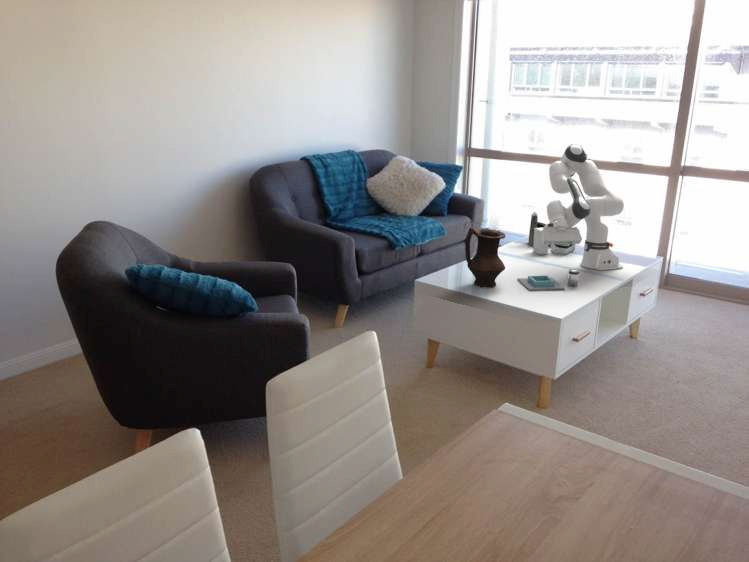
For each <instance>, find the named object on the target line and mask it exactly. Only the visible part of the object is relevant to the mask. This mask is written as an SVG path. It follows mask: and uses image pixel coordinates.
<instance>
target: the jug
mask: <svg viewBox="0 0 749 562" xmlns="http://www.w3.org/2000/svg"><path fill="white" fill-rule="evenodd" d="M472 235H475V236H476V238H477V245H476V247H477V249H476V253H475V254H474V256H473V257H472V258H471V239H472ZM505 238H506V234H505V233H503V232H502V231H499V230H497V229H496V230H495V229H490V228H488V229H478V230H476V229H475V228H473V226H469V228H468V232H467V233H466V236H465V243H464V247H465V249H464V250H465V251H464V252H465V259H466V263H467V264H466V265H467V268H468V270H469V271H470V272H471V273H472V275H473V277H474V281H473V285H475V286H476V285H477V286H476V287H478V286H480V287H479V288H483V287H491V288H494V287H496V286H497V283H496V282H497V281H496V280H497V278H498V276H499V275H500V274H501V273H502V272H503V271H504V270H505V269H506V265H505V264H504V262H503V261H502V260H501V258H500V257H499V253H498V252H499V247H500V242H501V239H502V240H504V239H505Z"/></svg>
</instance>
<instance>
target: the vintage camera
mask: <svg viewBox="0 0 749 562" xmlns="http://www.w3.org/2000/svg"><path fill="white" fill-rule="evenodd" d="M538 218H539V217H538V213H537V212H534V211H533V213H531V218H530V223H529V224H530V225H529V226H530V227H529V233H528V245H529V246H530V247H534V228H544V226H545V225H546V224H547V223H543V222H540V221H538V220H539V219H538Z"/></svg>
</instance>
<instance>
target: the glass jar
mask: <svg viewBox="0 0 749 562" xmlns="http://www.w3.org/2000/svg"><path fill="white" fill-rule="evenodd" d="M579 277H580V270H579V269H578V268H577V269H575V268H570V269H568V275H567V286H568V287H571V288H578V286H579Z"/></svg>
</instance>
